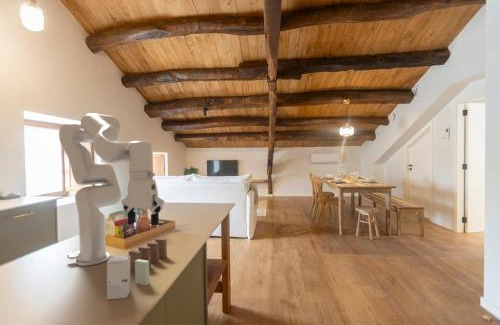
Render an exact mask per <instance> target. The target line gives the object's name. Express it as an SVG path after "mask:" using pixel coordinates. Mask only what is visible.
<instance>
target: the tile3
mask: <svg viewBox="0 0 500 325" xmlns="http://www.w3.org/2000/svg"><path fill="white" fill-rule="evenodd" d="M147 247H150V254H151V263H152V264H158V263H159V262H160V258H159V243H157V242H155V241H148V242H147Z"/></svg>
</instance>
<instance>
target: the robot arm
mask: <svg viewBox="0 0 500 325" xmlns="http://www.w3.org/2000/svg"><path fill="white" fill-rule="evenodd" d="M120 130H121V123H120V120H119V119H118V118H117V117H115V116H114V115H109V114H99V113H87V114H85V115H83V116H81V118H80V122H66V123H64V124H62V125H61V126H60V128H59V130H58V137H59V142H60V146H61V147H62V149H63V151H64V153H65V154H66V156H67V158H68V162H69V166H70V168H71V172H72V178H73V179H74V181H75V183H76V184H77V185H80V186H85V187H81V188H80V189H78V190H76V192H75V195H74V199H75V205H76V209H77V213H78V214H77V215H78V231H79V233H78V235H79V237H78V238H79V250H78V251H76V252H70V253H67V255H66V256H67V259H69V260H74V259H75V264H76V265H77V266H80V267H81V266H83V267H85V266H86V267H88V266H92V265H93V266H94V265H98V264H101V263H104V262H106V261H108V260H109V259H110V257H111V253H109V252H108V251H107V243H106V219H105V218H106V217H105V215H104V213H103V212H102V211H101V210H100V208H104V207H109V206H110V207H111V206H115V205H117V204H118V203H120V202H121V205H122V206H123V209H124V211H125V213H126V214H127V224H128V225H132V224H135V223H136V222H137V218H136V217H137V216H136V209H139V210H140V209H142V210H143V209H144V210H148V209H149V211H150V212H151V214H150V223H151V226H152V227H154V226H156V225H158V224H159V218H160V217H159V215H160V214H159V213H160V212H161V211H162V209H163V206H164V205H165V200H164V199H162V198H160V197H159V191H158V186H157V182H156V180H155V179H153V178H154V177H155V175H156V173H155V172H153V156H152V154H153V150H152V144H151V142H149V141H145V140H134V141H117V140H118V137H119V132H120ZM81 143H85V144H86V143H92V145H93V150H94V152H95V154H96V155H97V156H98V157H99V158H100V159H101V160H103V161H105V162H94V160H93V156H92V154H91V152H90V151H89V149H88V148H87V147H85V146H84V145H82V144H81ZM114 163H115V164H116V163H128V166H129V167H128V170H129V180H128V181H127V182H128V183H127V195H126V197H125V198H124V199H122V192H121V188H120V184H119V180H118V177H117V174H116V171H115V169H114V167H113V166H112V165H111V164H114ZM121 199H122V200H121Z"/></svg>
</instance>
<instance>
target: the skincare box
mask: <svg viewBox="0 0 500 325" xmlns="http://www.w3.org/2000/svg"><path fill="white" fill-rule="evenodd" d="M106 261H107V262H106V268H107V270H106V271H107V272H106V278H107V279H106V284H107V285H106V299H107V300H116V299H117V300H118V299H125V298H128V296H129V294H130V292H131V272H130V255H129V254H127V255H114V256H113V255H112V256H111V255H110V258H109V259H108V260H106Z"/></svg>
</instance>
